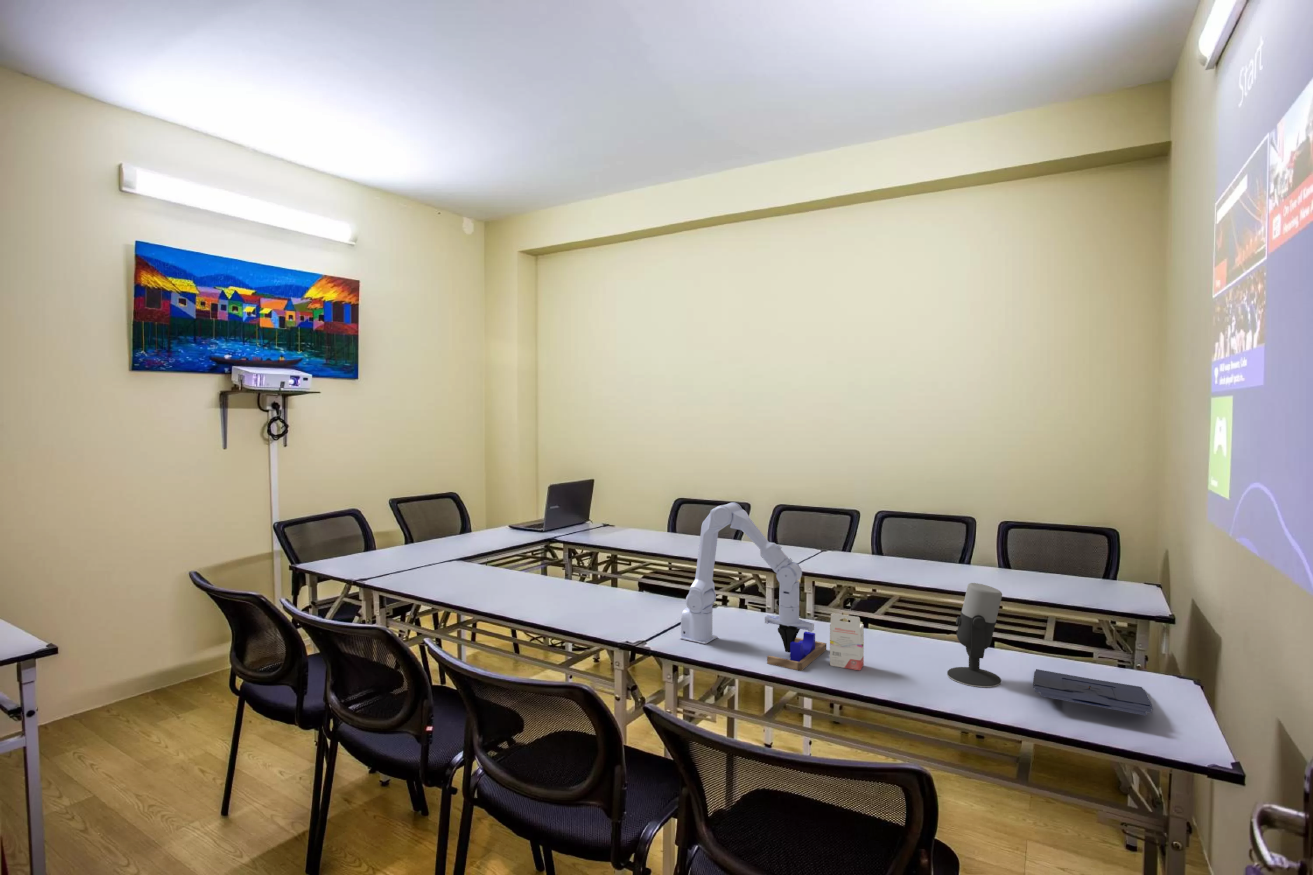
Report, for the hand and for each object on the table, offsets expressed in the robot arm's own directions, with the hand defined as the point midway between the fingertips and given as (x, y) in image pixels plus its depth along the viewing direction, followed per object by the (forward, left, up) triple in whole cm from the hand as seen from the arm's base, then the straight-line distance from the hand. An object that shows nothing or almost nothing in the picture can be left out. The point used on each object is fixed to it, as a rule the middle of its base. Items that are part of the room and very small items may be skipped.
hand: (788, 651), depth 199 cm
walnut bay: (+3, 0, -1) cm, 3 cm away
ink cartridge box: (+17, +1, -1) cm, 17 cm away
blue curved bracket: (+4, 0, -1) cm, 4 cm away
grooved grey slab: (+74, +12, -2) cm, 75 cm away
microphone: (+48, +11, -1) cm, 49 cm away
